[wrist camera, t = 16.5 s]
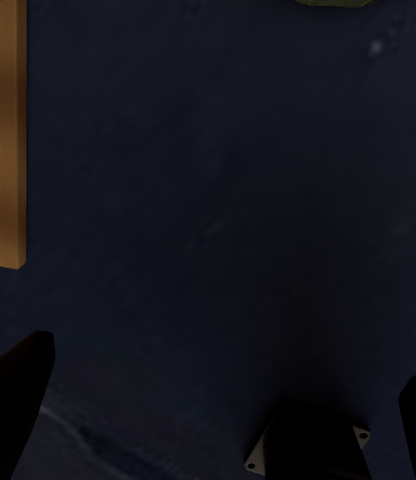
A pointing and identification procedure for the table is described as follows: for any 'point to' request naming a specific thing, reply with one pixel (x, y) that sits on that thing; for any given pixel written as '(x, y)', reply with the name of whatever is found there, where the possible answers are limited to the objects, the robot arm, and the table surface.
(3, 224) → the oak board
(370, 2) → the bowl
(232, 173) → the table surface
